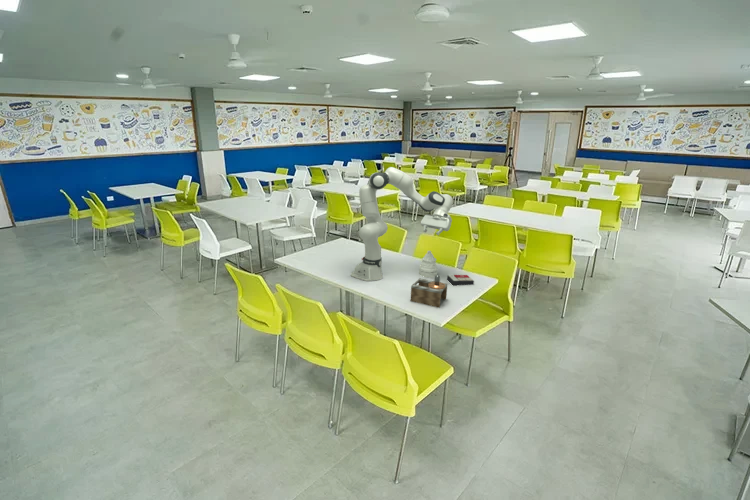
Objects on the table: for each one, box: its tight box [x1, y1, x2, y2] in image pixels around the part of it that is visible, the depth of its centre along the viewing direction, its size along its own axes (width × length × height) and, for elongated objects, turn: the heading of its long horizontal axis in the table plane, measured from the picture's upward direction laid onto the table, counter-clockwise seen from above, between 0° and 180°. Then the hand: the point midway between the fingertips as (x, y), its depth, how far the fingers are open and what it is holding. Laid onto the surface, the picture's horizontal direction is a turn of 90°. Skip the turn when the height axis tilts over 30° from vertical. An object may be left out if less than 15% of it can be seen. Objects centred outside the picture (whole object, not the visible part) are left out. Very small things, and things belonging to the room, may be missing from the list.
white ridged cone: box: [418, 250, 438, 278], centre depth 272 cm, size 13×13×18 cm
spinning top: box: [428, 274, 445, 295], centre depth 227 cm, size 10×10×12 cm
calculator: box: [446, 274, 475, 287], centre depth 261 cm, size 11×4×15 cm
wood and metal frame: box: [410, 277, 448, 308], centre depth 231 cm, size 18×14×10 cm
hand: (430, 233), depth 250 cm, fingers open, 8 cm apart
